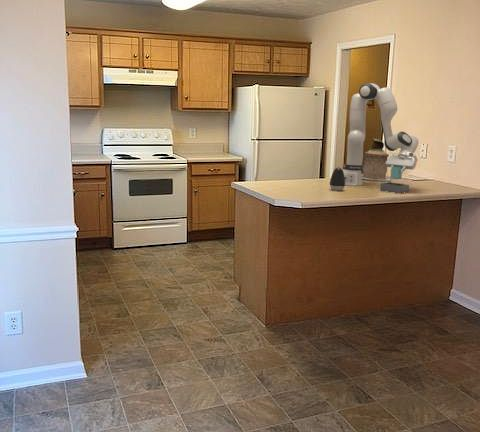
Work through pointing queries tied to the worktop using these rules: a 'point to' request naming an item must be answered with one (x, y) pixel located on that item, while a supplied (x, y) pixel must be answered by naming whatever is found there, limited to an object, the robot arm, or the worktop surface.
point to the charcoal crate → (394, 187)
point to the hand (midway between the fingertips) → (396, 171)
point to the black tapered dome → (337, 180)
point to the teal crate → (396, 172)
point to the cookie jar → (375, 162)
